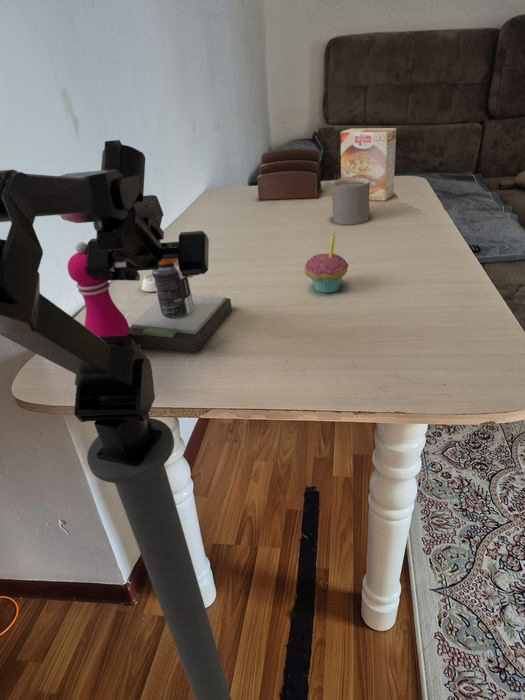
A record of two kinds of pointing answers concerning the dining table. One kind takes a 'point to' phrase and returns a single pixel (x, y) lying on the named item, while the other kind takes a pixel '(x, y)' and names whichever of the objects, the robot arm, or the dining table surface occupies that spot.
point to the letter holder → (289, 174)
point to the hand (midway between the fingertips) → (164, 276)
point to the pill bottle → (172, 289)
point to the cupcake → (326, 270)
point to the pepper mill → (96, 299)
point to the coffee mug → (350, 200)
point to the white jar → (148, 283)
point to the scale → (180, 325)
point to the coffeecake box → (370, 158)
